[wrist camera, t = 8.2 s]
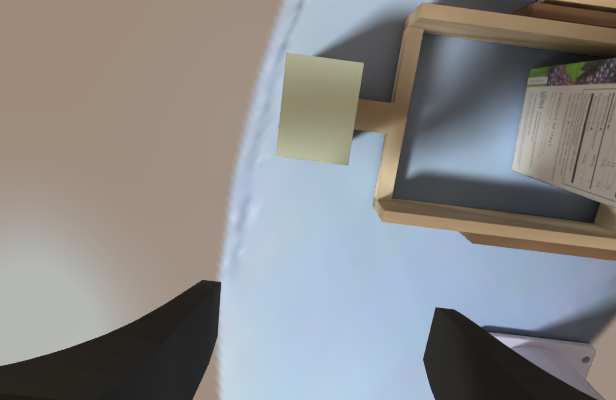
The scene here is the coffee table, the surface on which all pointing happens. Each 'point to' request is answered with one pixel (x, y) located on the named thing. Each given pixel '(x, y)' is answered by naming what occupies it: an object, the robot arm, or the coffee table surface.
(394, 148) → the wooden slotted tray
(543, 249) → the lane board
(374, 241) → the coffee table surface
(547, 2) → the wooden bar
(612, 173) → the syrup box
